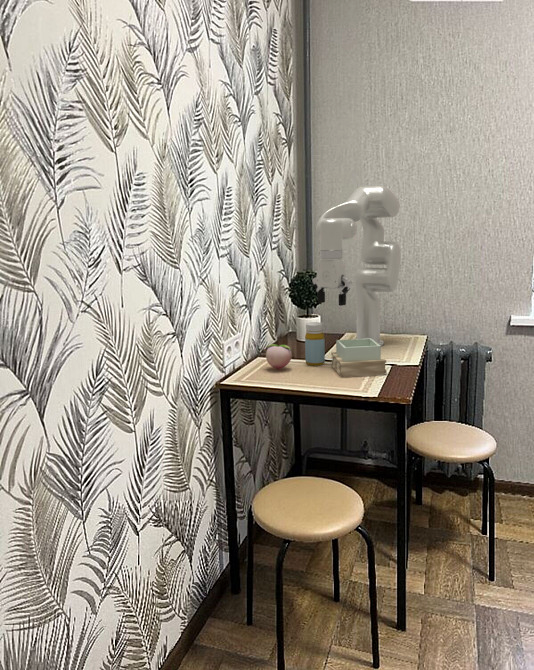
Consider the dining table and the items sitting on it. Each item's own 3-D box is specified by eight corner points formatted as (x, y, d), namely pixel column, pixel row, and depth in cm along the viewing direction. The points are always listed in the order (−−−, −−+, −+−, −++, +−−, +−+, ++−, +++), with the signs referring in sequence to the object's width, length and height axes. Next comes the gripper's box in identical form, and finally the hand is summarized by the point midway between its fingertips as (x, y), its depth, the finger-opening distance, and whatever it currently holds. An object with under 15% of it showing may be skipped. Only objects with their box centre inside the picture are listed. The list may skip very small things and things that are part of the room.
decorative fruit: (263, 372, 216) (262, 344, 214) (267, 366, 224) (266, 339, 222) (290, 372, 215) (289, 344, 213) (293, 366, 223) (292, 339, 221)
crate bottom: (331, 366, 222) (331, 352, 221) (374, 363, 223) (374, 350, 222) (340, 377, 207) (340, 363, 206) (386, 374, 208) (386, 360, 207)
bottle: (303, 365, 223) (302, 325, 220) (308, 361, 230) (307, 321, 227) (322, 366, 221) (321, 325, 218) (326, 362, 228) (326, 322, 225)
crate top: (336, 353, 220) (336, 340, 219) (370, 351, 221) (370, 338, 220) (344, 361, 207) (344, 347, 206) (380, 359, 209) (380, 345, 208)
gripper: (305, 255, 218) (306, 303, 221) (343, 256, 206) (343, 307, 209) (320, 253, 223) (320, 300, 226) (357, 255, 211) (357, 304, 214)
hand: (331, 303), depth 218 cm, fingers open, 9 cm apart
